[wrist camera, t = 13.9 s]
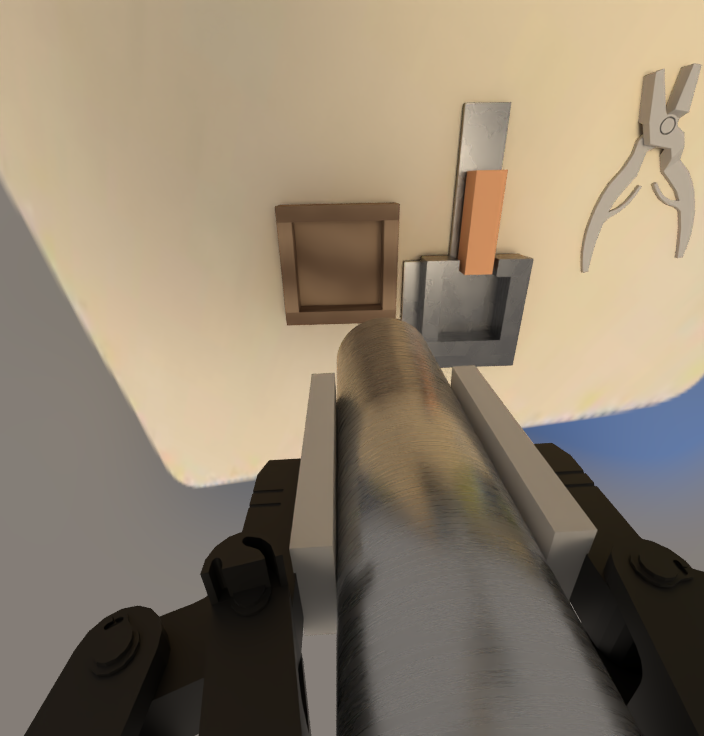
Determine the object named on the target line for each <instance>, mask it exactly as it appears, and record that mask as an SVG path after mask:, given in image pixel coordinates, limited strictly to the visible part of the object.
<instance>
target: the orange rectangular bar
mask: <svg viewBox="0 0 704 736" xmlns="http://www.w3.org/2000/svg"><path fill="white" fill-rule="evenodd" d="M507 172H508V170H475V171H467V177H466V186H465V196H464V205H463V214H462V224H461V233H460V242H459V252H458V260H460V263H459V271H460V272H461V273H462V274H464V275H486V274H492V272H493V265H494V258H495V252H496V245H497V238H498V232H499V225H500V218H501V212H502V205H503V199H504V192H505V185H506V179H507Z"/></svg>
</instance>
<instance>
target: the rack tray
mask: <svg viewBox="0 0 704 736" xmlns="http://www.w3.org/2000/svg"><path fill="white" fill-rule="evenodd" d="M399 210H400V204H398V203H349V204H301V205H278V206H276V207H275V213H276V222H277V232H278V242H279V252H280V262H281V272H282V281H283V291H284V301H285V311H286V321H287V325H316V324H349V323H363V322H366V321H368V320H371V319H375V318H395V319H396V292H397V265H398V237H399Z"/></svg>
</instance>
